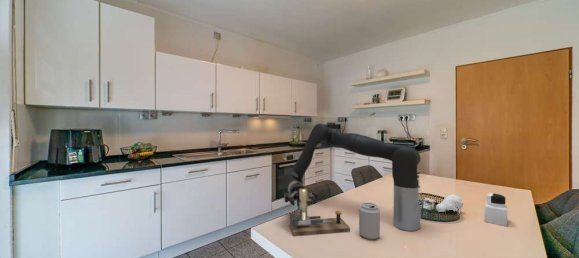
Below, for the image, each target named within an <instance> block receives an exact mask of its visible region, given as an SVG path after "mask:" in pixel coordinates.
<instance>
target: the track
mask: <svg viewBox="0 0 579 258" xmlns="http://www.w3.org/2000/svg"><path fill="white" fill-rule="evenodd" d="M334 213H335V215H336V217H330V218H321V219H310V220H311V221H312V220H323V223H311V224H308V225H298V219H297V217H298V216H297V214H296V213H294V212H293V213H290V217H289V218H290V219H289V227H290V230H291V233H292V236H293V237H300V236H311V235H323V234H324V235H325V234H336V233H337V234H338V233H350V232H351V227H350V226H349V225H348V224H347V222H346V221H345V220H343V218H342V217H341V215H342V211H341V210H335V211H334Z"/></svg>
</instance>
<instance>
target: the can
mask: <svg viewBox="0 0 579 258" xmlns="http://www.w3.org/2000/svg"><path fill="white" fill-rule="evenodd" d="M380 211H381V209H380V208H379V205H378V204H376V203H373V202H367V201H366V202H362V203H361V204H360V206H359V209H358V213H359V214H358V220H359V222H358V233H359V234H360V235H361V237H362V238H364V239H366V240H371V241H372V240H377V239H378V238H379V237H380V233H381V231H380V229H381V228H380V227H381V226H380V225H381V223H380V222H381V216H380V215H381V212H380Z"/></svg>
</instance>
